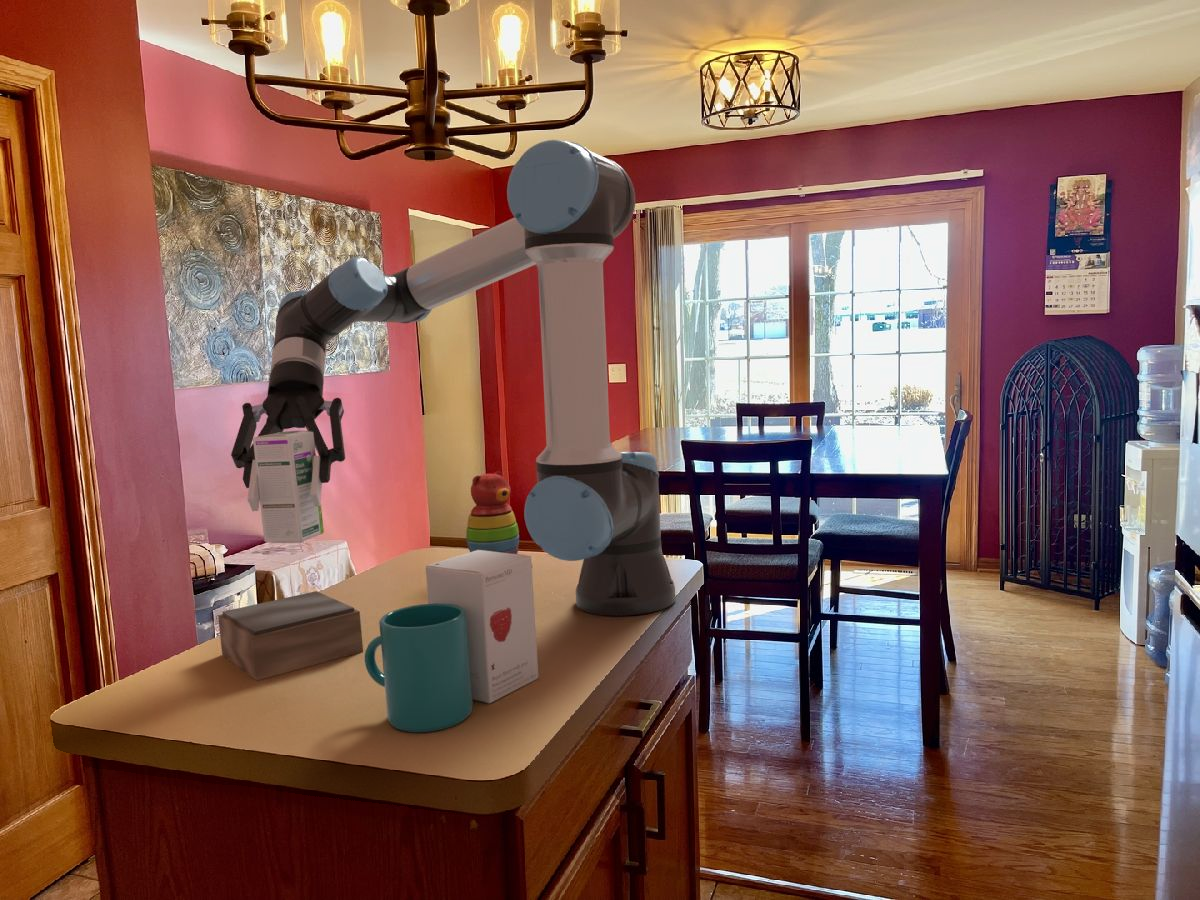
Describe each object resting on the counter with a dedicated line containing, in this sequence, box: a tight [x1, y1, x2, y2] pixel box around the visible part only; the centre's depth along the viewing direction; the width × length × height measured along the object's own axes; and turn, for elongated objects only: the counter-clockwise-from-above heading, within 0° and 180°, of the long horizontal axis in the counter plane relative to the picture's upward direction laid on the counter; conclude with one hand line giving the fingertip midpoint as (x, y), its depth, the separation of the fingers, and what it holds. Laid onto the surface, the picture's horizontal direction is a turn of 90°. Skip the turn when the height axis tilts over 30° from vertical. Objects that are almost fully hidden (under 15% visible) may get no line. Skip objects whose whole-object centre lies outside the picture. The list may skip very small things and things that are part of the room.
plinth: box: [217, 591, 364, 681], centre depth 117 cm, size 14×14×6 cm
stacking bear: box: [465, 471, 520, 554], centre depth 156 cm, size 11×10×18 cm
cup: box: [364, 603, 474, 733], centre depth 94 cm, size 9×12×11 cm
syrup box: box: [252, 430, 325, 544], centre depth 118 cm, size 6×6×14 cm
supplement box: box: [425, 550, 539, 704], centre depth 101 cm, size 9×9×15 cm
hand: (284, 502), depth 115 cm, fingers closed on syrup box, 7 cm apart
